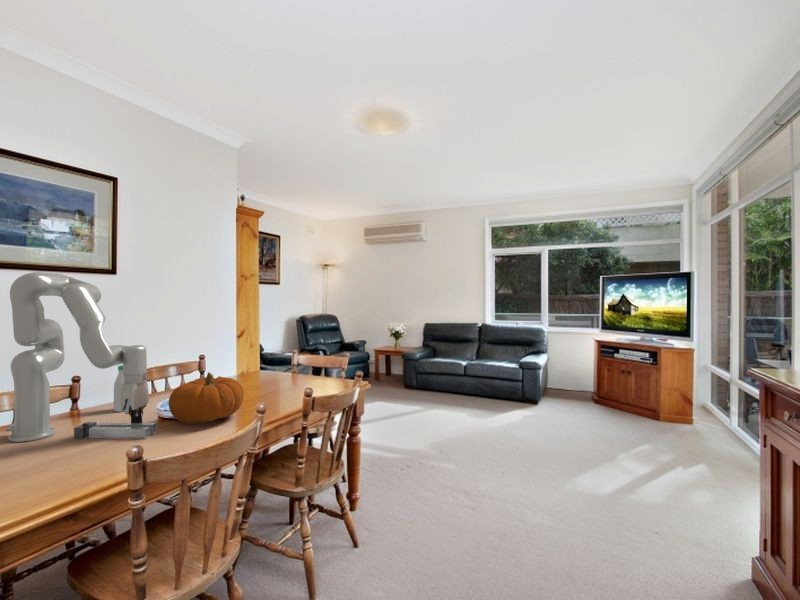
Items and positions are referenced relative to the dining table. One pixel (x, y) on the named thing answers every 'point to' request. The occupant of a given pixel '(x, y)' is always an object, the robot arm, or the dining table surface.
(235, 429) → the dining table surface
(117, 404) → the milk bottle
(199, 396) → the pumpkin
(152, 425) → the tongs free arm
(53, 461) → the dining table surface
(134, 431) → the arm
